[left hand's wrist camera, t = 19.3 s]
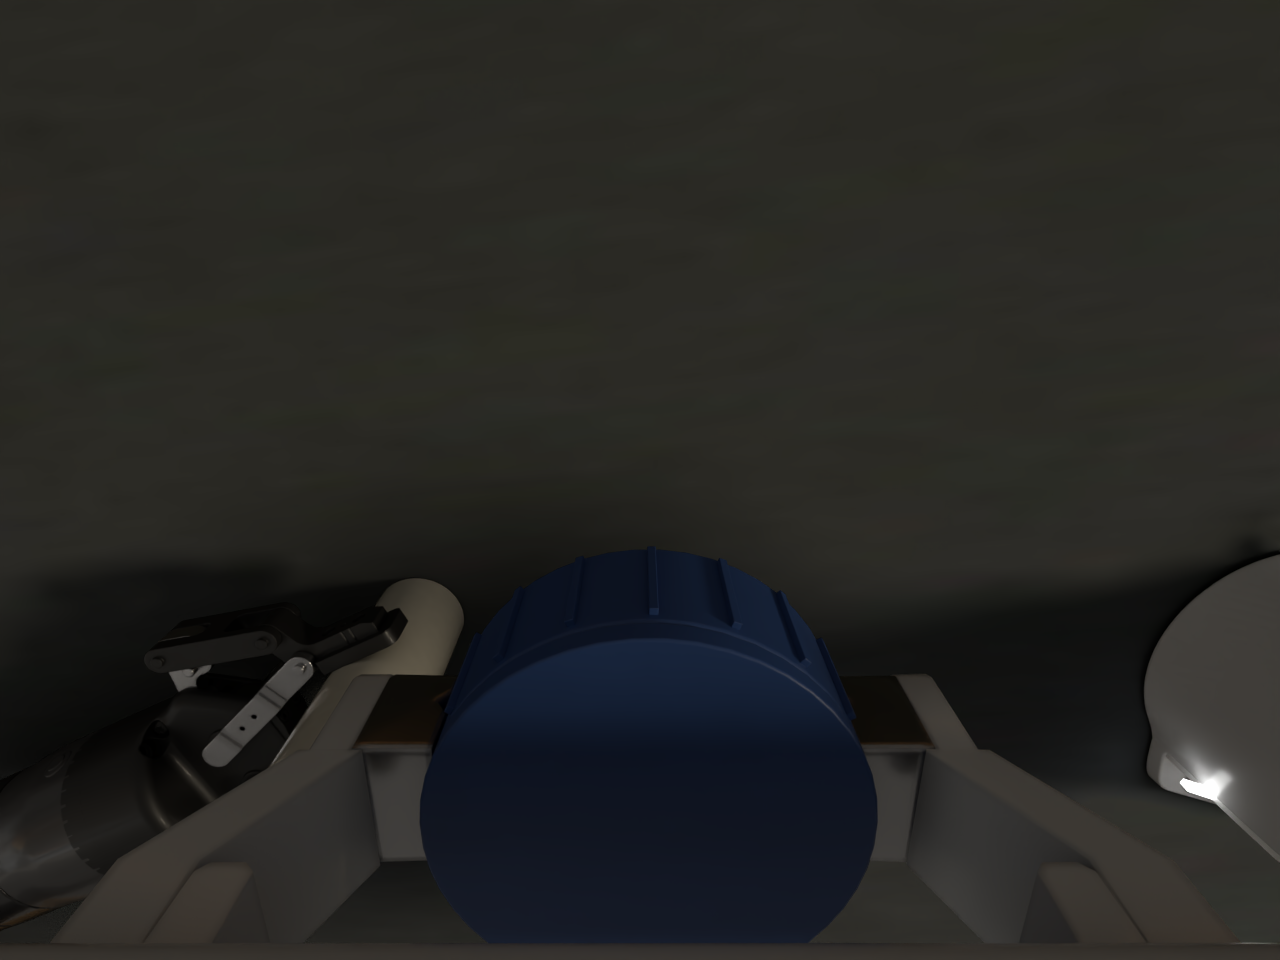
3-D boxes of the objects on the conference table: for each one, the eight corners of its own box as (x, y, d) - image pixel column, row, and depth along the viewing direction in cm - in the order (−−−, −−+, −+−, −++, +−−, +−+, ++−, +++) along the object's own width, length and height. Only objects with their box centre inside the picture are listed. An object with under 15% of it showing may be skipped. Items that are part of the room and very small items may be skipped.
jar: (451, 571, 38) (342, 784, 24) (473, 645, 40) (384, 886, 26) (365, 585, 39) (208, 804, 24) (391, 659, 40) (258, 904, 26)
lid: (384, 730, 11) (321, 855, 9) (628, 461, 9) (625, 534, 7) (660, 908, 12) (665, 1055, 10) (914, 696, 10) (983, 816, 8)
